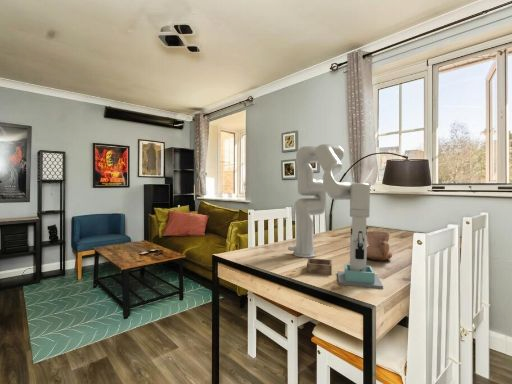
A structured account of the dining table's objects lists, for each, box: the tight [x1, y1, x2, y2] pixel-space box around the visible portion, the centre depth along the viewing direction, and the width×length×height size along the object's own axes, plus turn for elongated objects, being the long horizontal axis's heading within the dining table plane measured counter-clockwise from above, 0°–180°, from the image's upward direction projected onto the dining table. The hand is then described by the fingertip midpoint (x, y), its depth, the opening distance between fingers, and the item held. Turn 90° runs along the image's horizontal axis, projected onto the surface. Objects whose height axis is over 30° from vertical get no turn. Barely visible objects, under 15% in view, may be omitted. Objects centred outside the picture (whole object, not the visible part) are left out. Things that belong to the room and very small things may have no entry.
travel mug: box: [349, 226, 369, 272], centre depth 112 cm, size 6×7×20 cm
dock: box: [337, 263, 384, 290], centre depth 112 cm, size 16×14×5 cm
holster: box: [306, 257, 333, 276], centre depth 125 cm, size 11×10×4 cm
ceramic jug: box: [366, 230, 393, 262], centre depth 144 cm, size 18×14×14 cm
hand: (358, 256), depth 112 cm, fingers open, 6 cm apart
